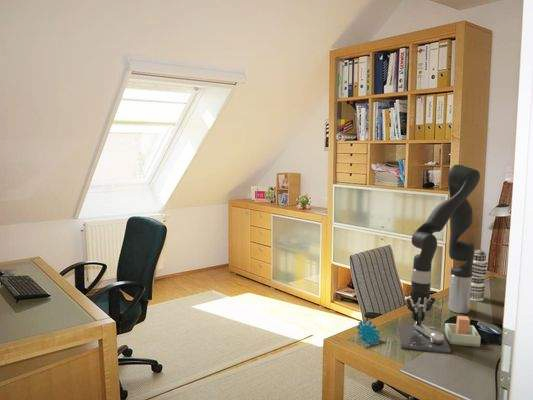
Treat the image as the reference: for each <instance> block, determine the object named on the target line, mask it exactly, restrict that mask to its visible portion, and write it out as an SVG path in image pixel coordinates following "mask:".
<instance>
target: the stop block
mask: <svg viewBox="0 0 533 400" xmlns="http://www.w3.org/2000/svg"><path fill="white" fill-rule="evenodd" d="M455 324H456V334H463V335H469V328H470V325H471V319H470V318H469V316H467V315H466V316H465V315H456V323H455Z"/></svg>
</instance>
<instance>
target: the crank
mask: <svg viewBox="0 0 533 400" xmlns="http://www.w3.org/2000/svg"><path fill="white" fill-rule="evenodd" d="M417 313H418V315H417V321H415V322H414V323H413V325H414V327H415V328H416V329H418V330H419V331H421V332H422V333H424V334H425V335H427V336H428V337H430V341H431V342H433V343H436V344H442V343H443V342H444V336H445V333H444V332H443V331H442V332H443V333H442V332H439V331H432V330H431V329H429V328H428V327H429V326H426V325H424V324H423V323H422V321H421V319H422V308H420V306H419V308H418V312H417Z"/></svg>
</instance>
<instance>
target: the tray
mask: <svg viewBox="0 0 533 400" xmlns="http://www.w3.org/2000/svg"><path fill="white" fill-rule="evenodd" d="M456 324H457V323H449V322H447V323H446V322H445V324H444V335H445V337H446V339H447V342H448V344H450V345H456V346H457V345H459V346H466V347H467V346H470V347H481V335H480V334H479V332H478V331H477V329H476V328H475V326H474V325H471V324H470V328H469V335H463V334H456Z"/></svg>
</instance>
